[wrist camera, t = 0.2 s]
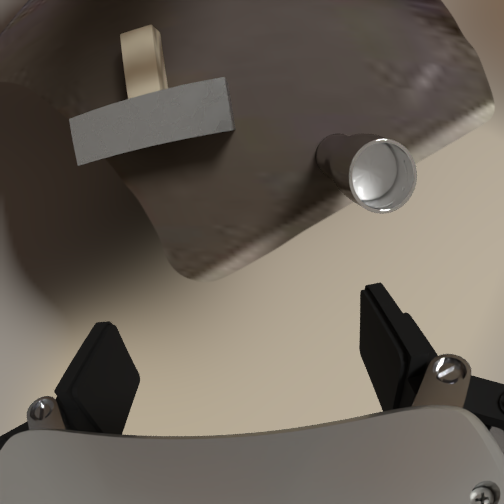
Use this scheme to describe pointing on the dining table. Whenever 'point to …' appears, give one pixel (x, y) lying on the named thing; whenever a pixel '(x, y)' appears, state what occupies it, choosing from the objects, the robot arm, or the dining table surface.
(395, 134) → the dining table surface
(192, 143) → the dining table surface
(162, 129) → the housing
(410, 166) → the beer glass
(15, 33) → the dining table surface
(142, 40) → the bar
